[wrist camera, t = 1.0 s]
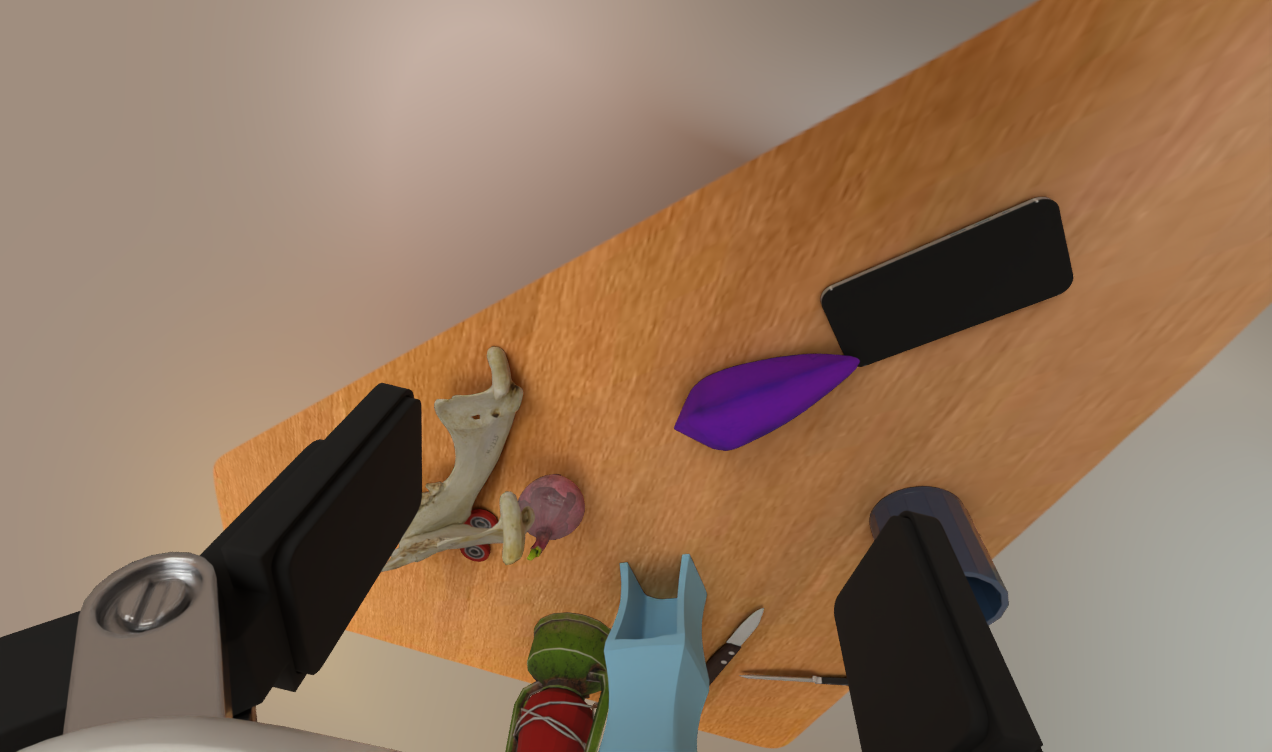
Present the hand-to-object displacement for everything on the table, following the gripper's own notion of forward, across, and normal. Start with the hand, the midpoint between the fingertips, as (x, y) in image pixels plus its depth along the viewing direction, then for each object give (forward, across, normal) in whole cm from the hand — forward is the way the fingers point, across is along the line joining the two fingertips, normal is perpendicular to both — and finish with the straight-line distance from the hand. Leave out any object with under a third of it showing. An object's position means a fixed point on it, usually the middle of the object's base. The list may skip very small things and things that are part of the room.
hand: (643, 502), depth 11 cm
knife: (+31, -27, +53) cm, 67 cm away
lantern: (+32, 0, +58) cm, 66 cm away
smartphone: (+31, -19, +4) cm, 36 cm away
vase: (+32, -8, +42) cm, 54 cm away
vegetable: (+31, +5, +30) cm, 44 cm away
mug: (+31, -29, +26) cm, 50 cm away
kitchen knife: (+32, -17, +51) cm, 62 cm away
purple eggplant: (+31, -10, +14) cm, 35 cm away
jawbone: (+28, +10, +34) cm, 45 cm away
